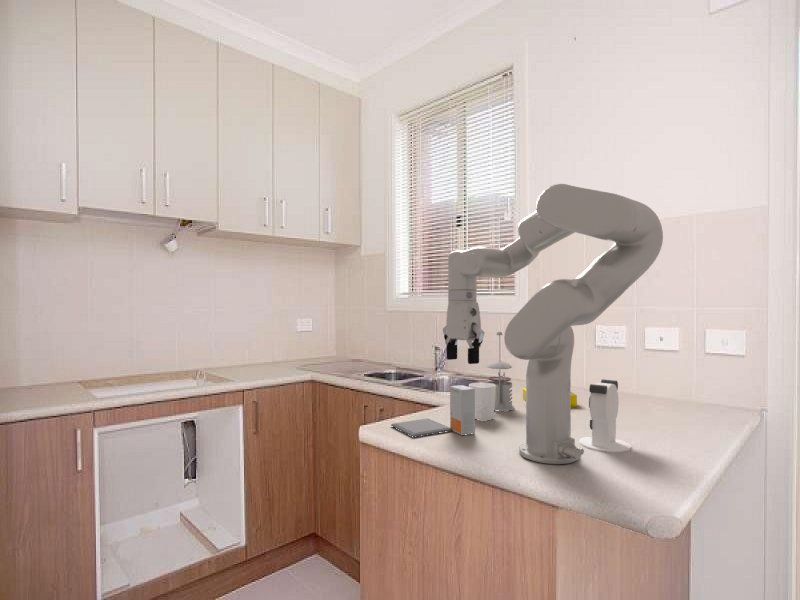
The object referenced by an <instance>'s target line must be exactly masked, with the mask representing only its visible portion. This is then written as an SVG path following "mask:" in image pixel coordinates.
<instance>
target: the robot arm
mask: <svg viewBox="0 0 800 600" xmlns="http://www.w3.org/2000/svg"><path fill="white" fill-rule="evenodd" d="M519 221H520V222H519V223H518V226H517V232H518V233H517V234H518V236H519V237H518V238H517V239H516V240H514V241H513V242H512V243H509V244H507V245H506V246H505V247H502V248H493V247H484V246H477V247H476V246H475V247H472V248H469V249H466V250H462V249H461V250H453V251H451V252H449V253H448V258H447V259H448V262H447V265H448V267H447V271H448V272H447V274H448V275H447V282H448V283H447V287H448V288H447V292H448V293H447V297H448V298H447V300H448V301H447V302H448V304H447V309H446V323H445V326H444V327H443V328H442V333H443V338H444V340H445V341H444V344H445V345H446V360H447V361H449V360H450V361H451V360H457V359H458V344H457V342H458V341H466V342H467V345H468V348H467V363H468V364H469V365H476V364H479V363H480V348H481V347H482V344H483V341H484V340H483V339H484V337H485V331H484V330H483V329H482V323H481V321H482V320H481V315H480V313H481V312H480V306H479V302H477V299H478V298H477V280H478V279H477V278H478V277H479V278H494V279H496V278H497V279H501V278H505V277H508V276H511V275H512V274H514V273H515V274H516V272H518V271H520V270H522V269H524V268H526V267H528V266H529V265H530V264H531V263H532V262H533V261H534V260H536V258H537V257H538V256H539V254H540V252H542V251H543V250H546V249H548V248H549V247H550V246H552V245H554V244H556V243H558V242H560V241H562V240H564V239H566V238H568V237H569V236H571V235H573V234H575V233H577V234H580V235H585V236H588V237H592V238H595V239H599V240H603V241H609V242H612V243H613V244H612V245H611V247H609V249H608V250H606V251H604V252H603V253H602V254H600V255H598V256H597V258H595V259H594V260H593V261H592V262H591V264H590V265H589V266H588V267H587V268H586V269H584V271H582V273H580V274H579V275H578V276H577V277H575V278H571V279H568V278H566V279H565V278H564V279H563V278H562V279H561V278H560V279H555V280H553V281H550V282H548V283H547V284H544V286H542V287H541V288H540V289H539V290H537V291H536V293H535V294H534V295H533V296H532V297H531V298H530V299H529V300H528V301H527V302H526V303H525V304H524V305H523V306H522V308H521V309H520V310H518V312H517V313H516V314H515V315H514V316H513V318H512V319H511V320H510V321H509V323H507V326H506V329H505V331H504V339H503V340H504V344H505V347H506V350H507V351H508V352H509V353H510V355H511V356H513V357H515V358H517V359H520V360H525V361H528V362H527V367H526V373H525V387H526V401H525V402H526V403H525V404H526V405H525V410H526V411H525V413H526V414H525V417H526V418H525V419H526V421H525V422H526V423H525V425H526V426H525V427H526V428H525V430H526V432H525V434H526V436H525V437H526V438H525V439H526V440H525V442H524V443H523V444H521V445H520V446H519V449H518V451H519V455H521V457H524V458H525V459H528V460H529V461H532V462H537V463H542V464H548V465H565V464H571V463H575V462H576V461H579V460H580V459H581V458H582V456H583V455H584V453H585V449H584V448H582V447H579V446H576V444H575V443H576V442H575V440H576V439H575V438H574V437H572V435H571V434H572V433H571V431H572V429H571V427H572V426H571V422H572V421H571V416H572V415H571V412H572V411H571V409H572V407H571V400H570V392H571V387H572V386H571V384H572V383H571V380H572V379H571V377H572V376H571V375H572V374H571V373H572V371H571V370H572V359H573V353H574V347H575V333H574V330H573V327H576V326H584V325H588V324H590V323H593V322H594V321H595V320H596V319H598V318H599V316H601V314H603V313H604V312H605V311H606V310H607V309H608V308H609V307H610V306H611V305H612V304H613V303H614V302H616V301H617V300H618V299H619V298H620V297H621V296H622V295H623V294H624V293H626V291H627V290H628V289H629V288H630V287H631V286H632V285H633V284H634V283H636V282H637V281H638V280H639V278H641V277H642V276H643V275H644V274H645V273H646V272H647V271H648V270H649V269H650V267H651V266H652V265H653V264H654V263H655V261H656V260H657V258H658V256H659V254H660V253H661V250H662V246H663V240H664V232H663V226H662V223H661V220H660V219H659V216H658V215H657V213H656V212H655V211H654V209H652V208H651V207H650V206H648V205H646V204H644V203H642V202H641V201H637V200H635V199H632V198H629V197H626V196H623V195H620V194H617V193H612V192H606V191H601V190H598V189H597V190H596V189H591V188H585V187H579V186H575V185H571V184H566V183H556V184H553V185H551V186H549V187H547V188H546V189H544V190H543V191H542V192H541V194H540V195H539V196H538V198H537V200H536V205H535V211H534V212H532V213H530V214H529V215H527V216H526V217H524V218H522V220H519Z"/></svg>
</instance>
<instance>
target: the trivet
mask: <svg viewBox="0 0 800 600" xmlns="http://www.w3.org/2000/svg"><path fill="white" fill-rule="evenodd" d="M390 426H393V427H395V428H397V429H399V430H401V431H403V432H405V433H407V434H409V435H411V436H413V437H415V436H421V435H427V434H432V433H439V432H445V431H451V430H452V428H450V427H449V426H447V425H444V424H442V423H441V422H437V421H435V420H433V419H430V418H422V419H415V420H409V421H402V422H394V423H391V425H390ZM393 427H392V428H393ZM395 428H394V429H395ZM397 429H396V430H397ZM399 430H398V431H399ZM401 431H400V432H401ZM403 432H402V433H403Z"/></svg>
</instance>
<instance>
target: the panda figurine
mask: <svg viewBox="0 0 800 600" xmlns="http://www.w3.org/2000/svg"><path fill="white" fill-rule="evenodd" d="M618 388H619V383H618V380H611V379H604V378H603V379H601V381H600V382H595V383H594V384H593V383H591V384H589V393H590V394H589V395H590V396H589V399H588V408H589V414H590V418H591V419H590V420H589V429H590V430H591V434H592V435H591V436H586V437H581V438H579V440H578V441H579V444H580V446H582V447H584V448H587V449H588V450H593V451H597V452H602V453H603V452H604V453H615V454H617V453H627V452H628V451H630V450H631V449H632V446H631V444H630V443H628V442H627V441H624V440H621V439H617V437H616V434H617V417H618V413H619V403H620V402H619V401H620V400H619V393H618Z"/></svg>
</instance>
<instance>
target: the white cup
mask: <svg viewBox="0 0 800 600" xmlns="http://www.w3.org/2000/svg"><path fill="white" fill-rule="evenodd" d="M468 387H470V388H474V389H475V419H479V420H491V419H493V420H494V418H495V411H494V410H495V394H496V385H495V384H492V383H488V382H472V383H471V382H470V383H469V384H468ZM491 421H492V420H491Z"/></svg>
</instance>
